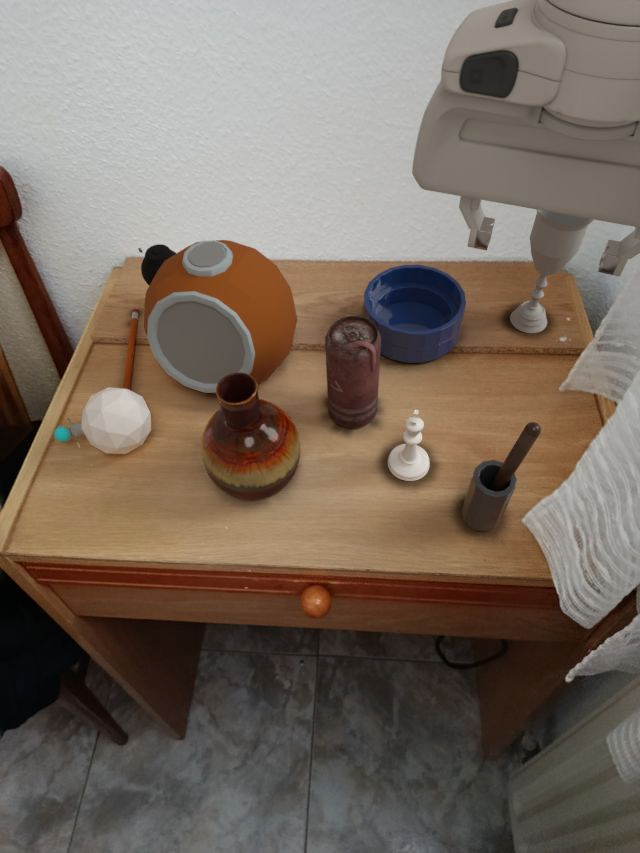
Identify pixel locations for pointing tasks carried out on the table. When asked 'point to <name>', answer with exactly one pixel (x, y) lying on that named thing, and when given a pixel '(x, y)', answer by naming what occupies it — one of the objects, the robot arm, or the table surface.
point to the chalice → (548, 261)
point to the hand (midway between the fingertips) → (542, 256)
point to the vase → (249, 441)
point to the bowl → (415, 312)
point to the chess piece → (410, 453)
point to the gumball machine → (154, 260)
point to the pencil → (130, 349)
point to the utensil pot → (486, 498)
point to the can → (352, 370)
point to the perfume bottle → (111, 421)
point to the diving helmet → (219, 314)
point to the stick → (516, 456)
